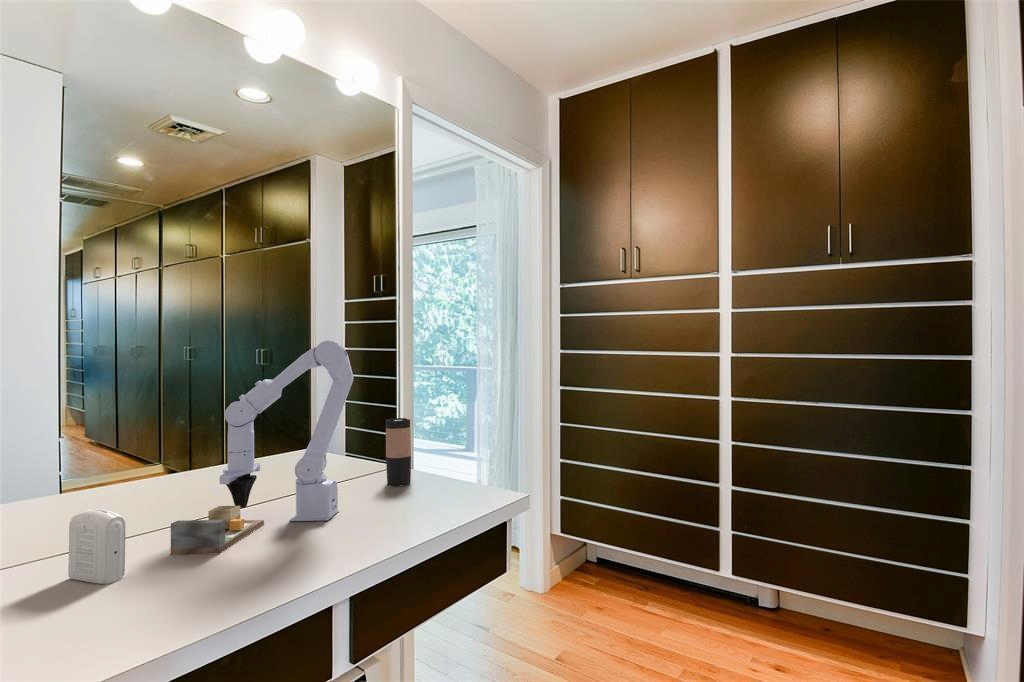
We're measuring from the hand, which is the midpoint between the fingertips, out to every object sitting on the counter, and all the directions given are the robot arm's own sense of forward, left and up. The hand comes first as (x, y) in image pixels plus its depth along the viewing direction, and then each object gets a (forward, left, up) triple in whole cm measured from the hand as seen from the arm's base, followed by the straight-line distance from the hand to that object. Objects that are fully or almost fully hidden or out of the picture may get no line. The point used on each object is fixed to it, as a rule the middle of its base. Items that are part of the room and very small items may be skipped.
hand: (241, 507), depth 124 cm
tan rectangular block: (-1, +7, -2) cm, 7 cm away
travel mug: (-30, -37, -4) cm, 48 cm away
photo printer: (+9, +31, -4) cm, 33 cm away
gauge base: (-2, +11, -4) cm, 12 cm away
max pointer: (-5, +10, -2) cm, 11 cm away
